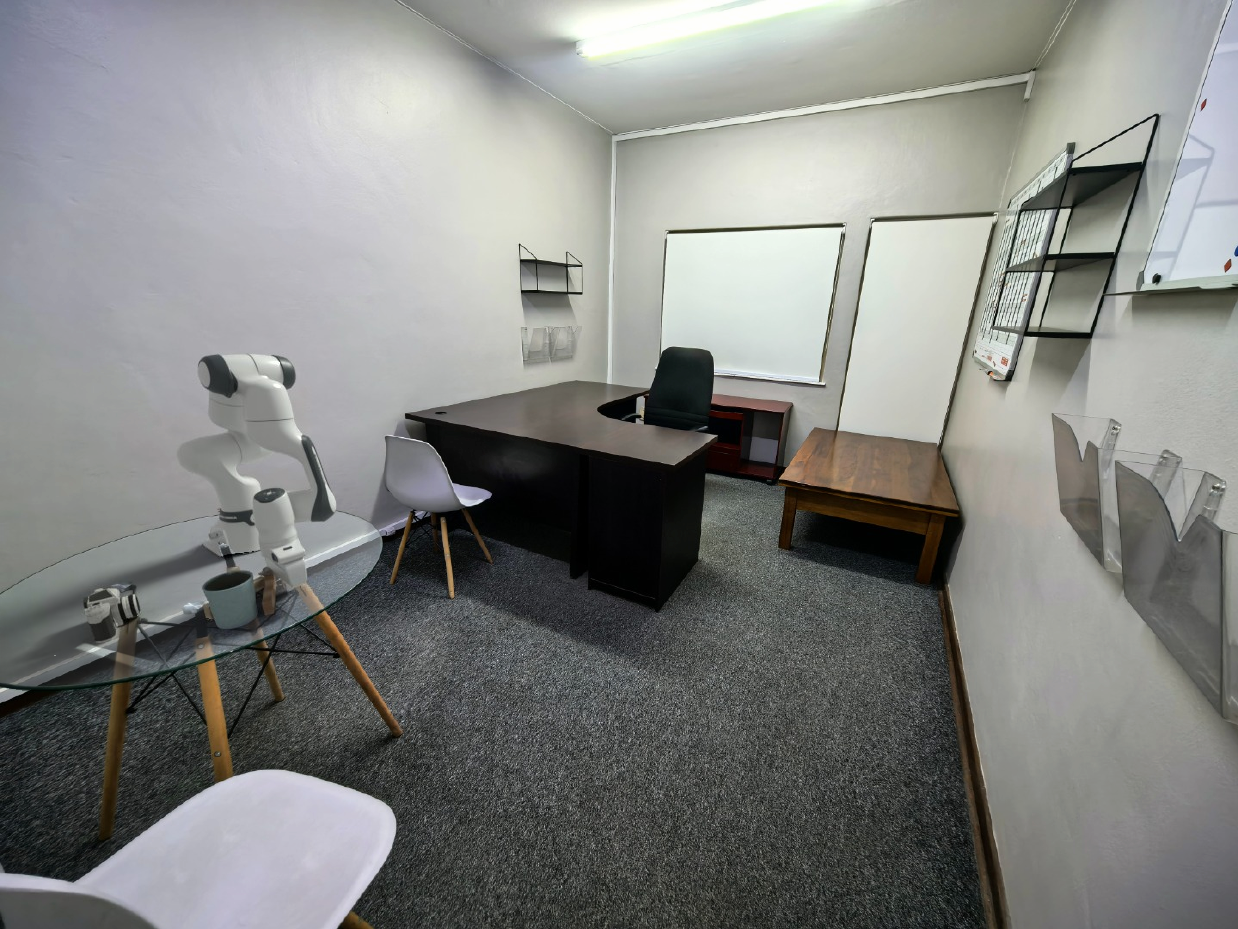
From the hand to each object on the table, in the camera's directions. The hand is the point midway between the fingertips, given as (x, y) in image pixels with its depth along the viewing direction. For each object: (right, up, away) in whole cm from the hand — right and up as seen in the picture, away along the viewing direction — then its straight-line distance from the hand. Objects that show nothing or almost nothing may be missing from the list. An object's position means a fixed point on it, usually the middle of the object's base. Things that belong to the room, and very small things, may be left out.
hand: (288, 588), depth 131 cm
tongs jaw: (-5, -2, -1) cm, 5 cm away
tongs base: (-11, -2, -2) cm, 11 cm away
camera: (-34, -6, -14) cm, 37 cm away
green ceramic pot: (-6, -6, -10) cm, 13 cm away
